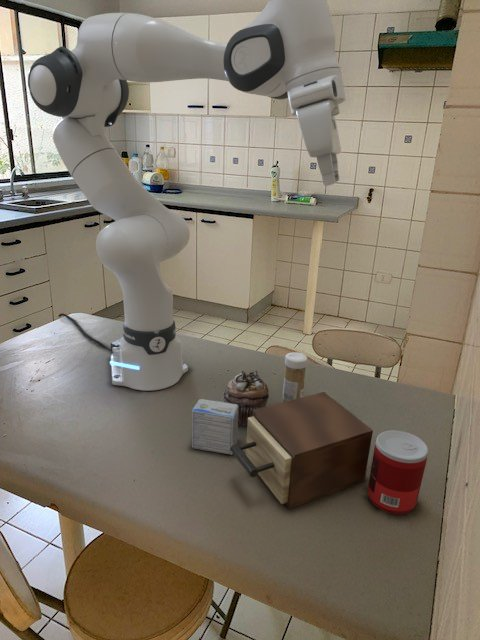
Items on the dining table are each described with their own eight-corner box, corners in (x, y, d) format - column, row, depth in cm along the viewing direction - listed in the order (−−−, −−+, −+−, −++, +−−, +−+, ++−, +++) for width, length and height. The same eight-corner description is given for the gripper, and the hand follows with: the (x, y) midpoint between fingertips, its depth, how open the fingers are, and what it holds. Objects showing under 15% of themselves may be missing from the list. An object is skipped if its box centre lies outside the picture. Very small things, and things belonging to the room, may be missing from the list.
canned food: (426, 510, 75) (439, 455, 71) (383, 520, 73) (394, 463, 69) (398, 479, 82) (409, 426, 78) (358, 486, 80) (367, 433, 75)
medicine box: (237, 442, 90) (239, 403, 87) (232, 456, 86) (233, 416, 83) (198, 435, 91) (199, 397, 88) (191, 449, 87) (191, 409, 84)
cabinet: (289, 509, 74) (294, 455, 70) (249, 458, 85) (252, 409, 81) (364, 481, 81) (373, 430, 77) (318, 437, 92) (324, 391, 88)
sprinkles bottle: (306, 413, 100) (312, 358, 95) (289, 419, 98) (295, 362, 93) (292, 403, 104) (297, 349, 99) (276, 409, 101) (280, 354, 96)
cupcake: (256, 400, 104) (258, 360, 101) (274, 423, 96) (277, 381, 92) (215, 406, 101) (216, 365, 98) (230, 431, 93) (232, 388, 89)
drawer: (256, 513, 72) (259, 467, 69) (222, 465, 82) (223, 423, 79) (352, 478, 80) (359, 436, 77) (311, 438, 90) (315, 399, 87)
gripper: (305, 109, 85) (320, 184, 89) (286, 95, 67) (306, 191, 70) (340, 98, 83) (353, 176, 87) (330, 81, 65) (348, 181, 68)
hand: (332, 183), depth 78 cm, fingers open, 8 cm apart
